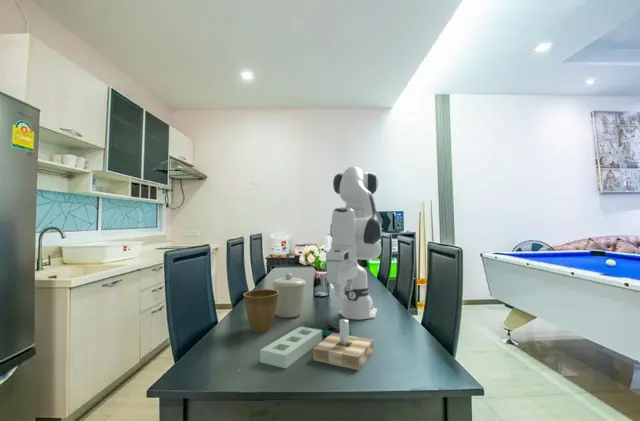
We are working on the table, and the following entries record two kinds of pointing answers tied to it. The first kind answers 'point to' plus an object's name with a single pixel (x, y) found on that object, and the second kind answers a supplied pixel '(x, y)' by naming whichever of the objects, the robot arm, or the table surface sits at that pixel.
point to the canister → (289, 296)
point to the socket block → (343, 351)
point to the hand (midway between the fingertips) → (343, 293)
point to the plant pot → (261, 308)
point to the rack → (290, 347)
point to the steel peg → (344, 332)
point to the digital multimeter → (329, 329)
